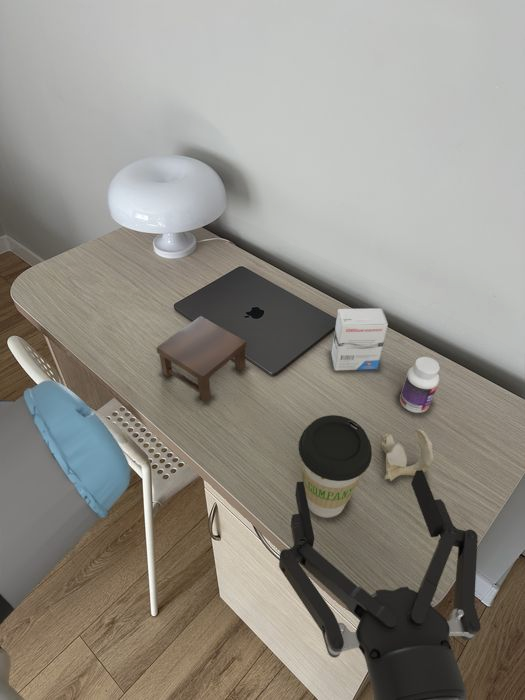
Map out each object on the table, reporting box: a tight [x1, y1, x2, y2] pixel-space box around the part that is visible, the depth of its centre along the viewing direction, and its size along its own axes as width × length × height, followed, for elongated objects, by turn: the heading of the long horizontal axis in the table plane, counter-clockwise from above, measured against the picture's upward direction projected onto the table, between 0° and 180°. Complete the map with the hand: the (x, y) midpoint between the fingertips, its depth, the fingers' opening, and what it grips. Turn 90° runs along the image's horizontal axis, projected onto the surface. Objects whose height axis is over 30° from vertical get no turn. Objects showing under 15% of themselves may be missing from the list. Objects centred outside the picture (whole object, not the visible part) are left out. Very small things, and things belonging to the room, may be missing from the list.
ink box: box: [330, 308, 389, 371], centre depth 92 cm, size 8×5×12 cm, turn 93°
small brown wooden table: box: [156, 315, 247, 403], centre depth 92 cm, size 12×12×7 cm
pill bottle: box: [399, 356, 440, 414], centre depth 86 cm, size 5×5×10 cm
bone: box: [380, 428, 435, 482], centre depth 76 cm, size 9×6×10 cm
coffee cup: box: [298, 414, 373, 519], centre depth 70 cm, size 10×10×15 cm
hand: (358, 482), depth 55 cm, fingers open, 13 cm apart
